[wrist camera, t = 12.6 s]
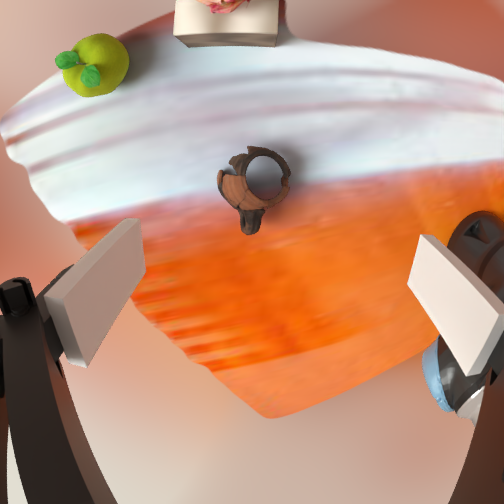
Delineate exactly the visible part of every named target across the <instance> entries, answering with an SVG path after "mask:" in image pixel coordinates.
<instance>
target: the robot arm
mask: <svg viewBox="0 0 504 504" xmlns="http://www.w3.org/2000/svg"><path fill="white" fill-rule="evenodd" d="M145 273H146V268H145V260H144V252H143V243H142V234H141V223H140V218H125V219H124V220H122V221H121V222H120V223H119V224H118V225H117V226H116V227H114V228H113V229H112V230H111V231H110V232H109V233H108V234H107V235H106V236H104V237H103V238H102V239H101V240H100V241H99V242H98V243H97V244H96V245H95V246H94V247H92V248H91V249H90V250H89V251H88V252H87V253H86V254H85V255H84V256H83V257H82V258H81V259H80V260H79V261H78V262H77V263H76V264H73V265H71V266H69V267H68V268H66V269H64V270H63V271H61V273H59V274H58V275H57V276H56V279H53V280H52V281H51V282H50V284H48V285H47V286H46V287H45V288H44V289H43V290H42V291H41V292H40V293H39V294H38V296H37V297H36V298H35V296H34V293H33V290H32V287H31V283H30V281H29V279H27V278H25V277H17V278H13V279H10V280H7V281H6V282H4V283H2V284H1V285H0V309H1V311H2V314H3V315H0V504H8V497H7V442H8V427H10V433H11V438H12V444H13V449H14V454H15V458H16V463H17V467H18V471H19V475H20V479H21V482H22V486H23V489H24V493H25V496H26V499H27V502H28V504H118V503H117V502H116V500H115V498H114V496H113V494H112V492H111V490H110V488H109V487H108V485H107V483H106V481H105V479H104V477H103V474H102V472H101V470H100V468H99V466H98V464H97V462H96V460H95V457H94V455H93V453H92V450H91V448H90V446H89V443H88V441H87V438H86V436H85V433H84V431H83V428H82V426H81V423H80V420H79V418H78V415H77V412H76V409H75V406H74V403H73V400H72V397H71V395H70V391H69V388H68V385H67V382H66V378H65V375H64V371H63V367H62V364H61V362H60V360H59V357H60V356H61V354H62V353H63V351H64V353H65V355H66V357H67V360H68V362H69V364H74V365H77V366H82V367H86V368H87V367H88V365H89V364H90V362H91V360H92V359H93V357H94V355H95V353H96V351H97V350H98V348H99V346H100V345H101V343H102V341H103V340H104V338H105V336H106V335H107V333H108V331H109V329H110V328H111V326H112V325H113V323H114V321H115V320H116V318H117V316H118V315H119V313H120V312H121V310H122V308H123V307H124V305H125V304H126V302H127V300H128V299H129V297H130V296H131V294H132V293H133V291H134V289H135V288H136V286H137V285H138V283H139V282H140V280H141V279H142V277H143V276H144V274H145ZM407 285H408V286H409V288H410V289H411V290H412V292H413V293H414V295H415V296H416V298H417V299H418V300H419V302H420V303H421V305H422V306H423V308H424V309H425V311H426V312H427V314H428V315H429V317H430V318H431V320H432V321H433V323H434V324H435V326H436V328H437V329H438V331H439V332H440V335H438V337H437V339H436V340H435V341H434V342H433V343H432V344H431V345H430V346H429V347H428V348H427V349H426V350H425V351H424V353H423V357H422V369H423V373H424V377H425V380H426V382H427V385H428V387H429V389H430V392H431V394H432V395H433V397H434V398H436V401H437V403H438V405H439V406H440V407H441V409H442V410H444V411H446V412H451V411H454V410H455V412H456V414H457V416H458V417H461V418H468V419H470V420H472V422H473V424H474V426H475V431H474V434H473V438H472V441H471V444H470V448H469V451H468V454H467V457H466V460H465V463H464V466H463V469H462V471H461V474H460V477H459V479H458V482H457V484H456V487H455V489H454V492H453V494H452V496H451V499H450V501H449V503H448V504H504V223H503V221H502V220H501V219H500V218H498V217H497V216H495V215H494V214H492V213H490V212H487V211H478V212H475V213H473V214H471V215H469V216H467V217H466V218H465V219H464V220H463V221H462V222H461V223H460V224H459V225H458V226H457V228H456V229H455V230H454V232H453V234H452V236H451V238H450V240H449V243H448V246H447V247H446V246H444V245H443V244H442V243H441V242H440V241H439V240H438V239H437V238H435V237H434V236H433V235H424V234H420V238H419V242H418V246H417V250H416V254H415V258H414V262H413V265H412V269H411V272H410V276H409V279H408V283H407Z"/></svg>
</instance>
